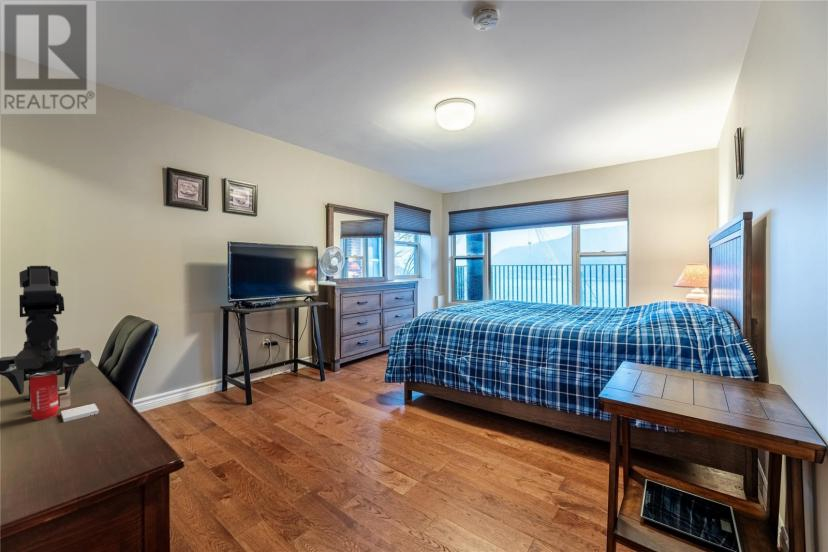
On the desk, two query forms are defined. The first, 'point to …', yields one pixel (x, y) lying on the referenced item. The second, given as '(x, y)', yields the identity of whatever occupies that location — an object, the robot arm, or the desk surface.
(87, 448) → the desk surface
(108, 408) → the desk surface
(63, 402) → the letter block
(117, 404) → the desk surface
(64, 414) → the white mat
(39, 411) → the beverage can
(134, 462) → the desk surface
